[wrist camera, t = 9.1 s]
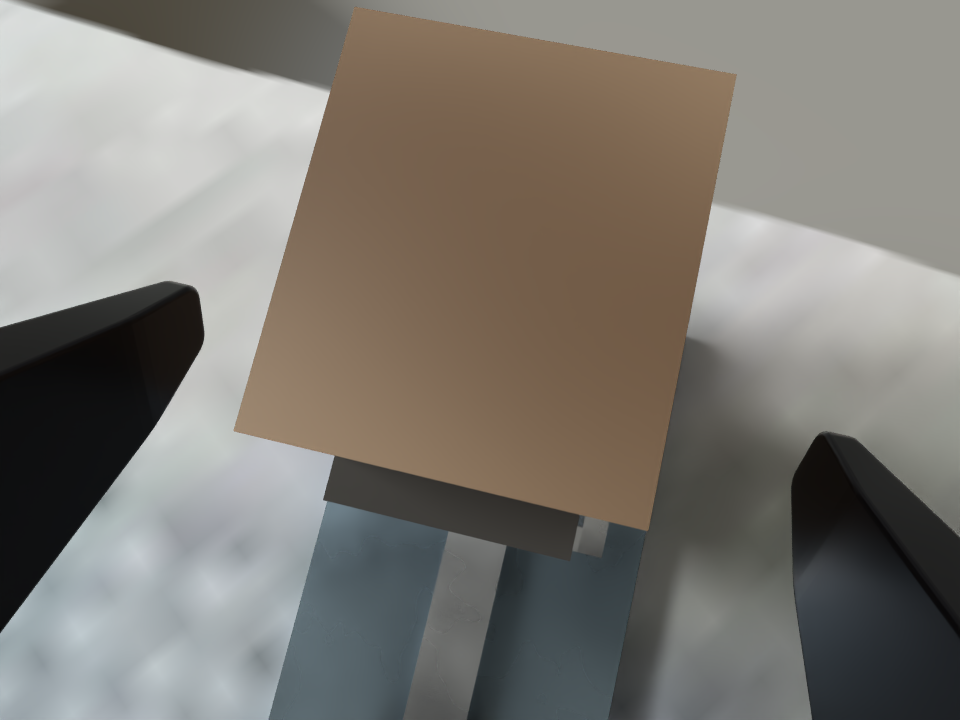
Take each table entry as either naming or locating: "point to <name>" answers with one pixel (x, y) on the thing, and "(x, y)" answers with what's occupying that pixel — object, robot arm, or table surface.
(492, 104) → the walnut finger
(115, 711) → the table surface
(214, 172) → the table surface
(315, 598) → the rail
